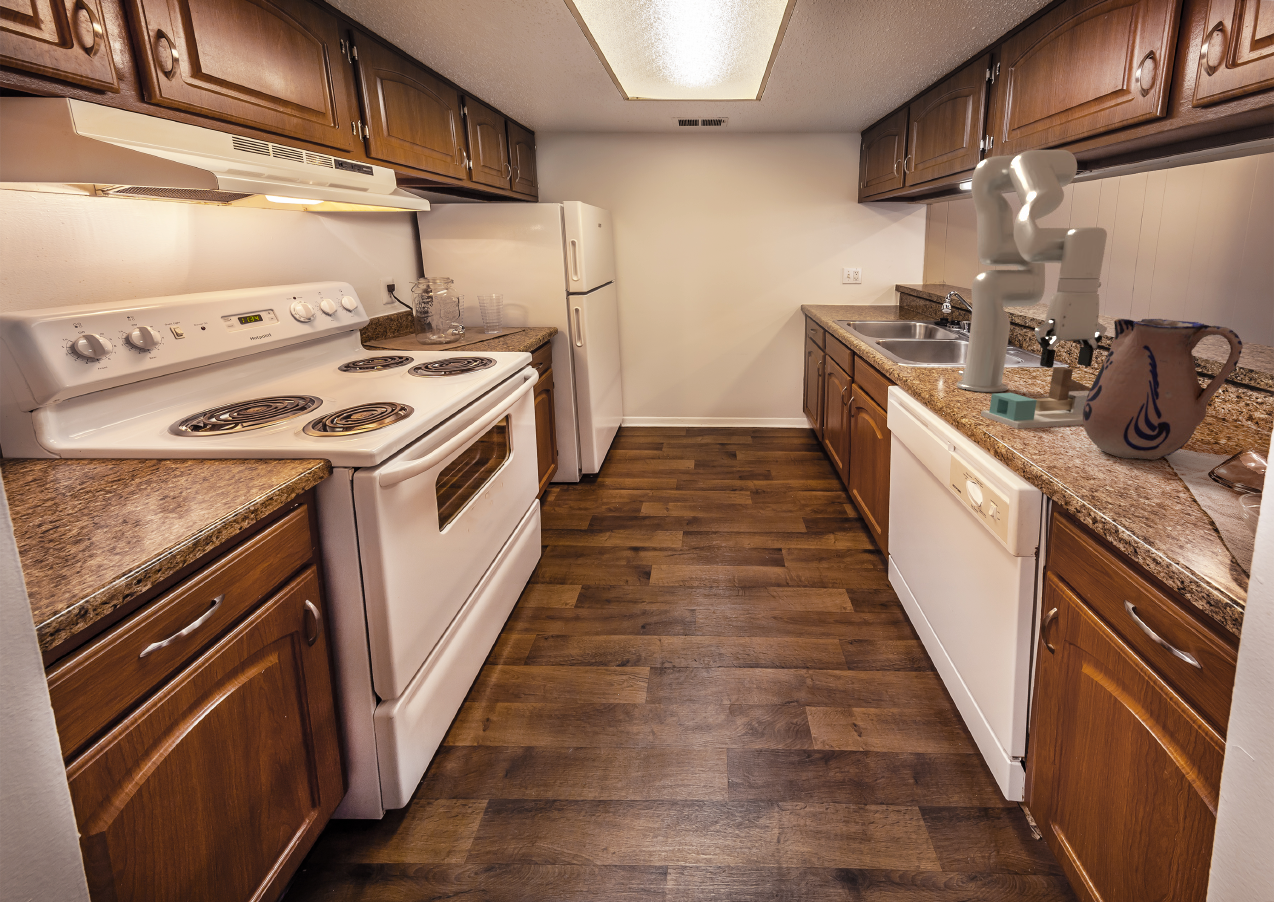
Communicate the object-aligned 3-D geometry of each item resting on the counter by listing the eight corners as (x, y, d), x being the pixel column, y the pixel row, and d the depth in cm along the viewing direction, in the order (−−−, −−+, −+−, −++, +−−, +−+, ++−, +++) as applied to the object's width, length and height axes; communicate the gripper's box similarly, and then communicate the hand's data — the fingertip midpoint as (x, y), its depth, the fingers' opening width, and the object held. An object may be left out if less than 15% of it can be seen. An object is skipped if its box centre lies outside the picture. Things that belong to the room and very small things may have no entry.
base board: (1077, 410, 166) (1078, 405, 165) (1119, 422, 154) (1120, 417, 154) (980, 415, 161) (981, 410, 161) (1017, 428, 150) (1018, 423, 149)
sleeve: (1083, 409, 161) (1087, 390, 160) (1099, 413, 157) (1102, 394, 156) (1057, 410, 160) (1060, 392, 159) (1072, 415, 156) (1075, 396, 155)
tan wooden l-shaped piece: (1094, 405, 161) (1101, 365, 158) (1104, 408, 158) (1112, 367, 155) (1030, 408, 158) (1036, 368, 155) (1039, 411, 155) (1046, 370, 152)
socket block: (1008, 411, 160) (1011, 392, 158) (1033, 419, 152) (1036, 400, 151) (989, 412, 159) (991, 393, 157) (1013, 420, 151) (1016, 401, 150)
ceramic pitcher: (1083, 436, 143) (1106, 314, 136) (1213, 454, 131) (1246, 321, 123) (1069, 455, 130) (1093, 322, 123) (1212, 478, 118) (1248, 330, 110)
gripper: (1097, 286, 154) (1085, 362, 159) (1029, 287, 151) (1019, 365, 156) (1126, 287, 147) (1112, 367, 152) (1056, 288, 144) (1044, 370, 149)
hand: (1065, 366), depth 154 cm, fingers open, 9 cm apart
